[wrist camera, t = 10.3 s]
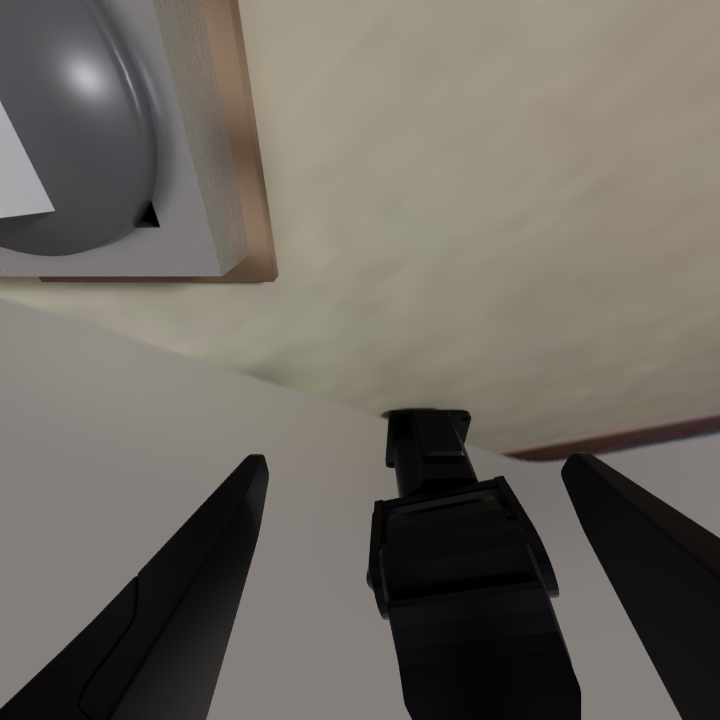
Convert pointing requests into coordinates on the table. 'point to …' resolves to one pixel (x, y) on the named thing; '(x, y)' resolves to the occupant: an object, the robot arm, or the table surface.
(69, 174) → the grey disc with handle
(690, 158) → the table surface
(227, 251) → the hollow square frame
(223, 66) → the walnut plate
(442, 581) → the robot arm
